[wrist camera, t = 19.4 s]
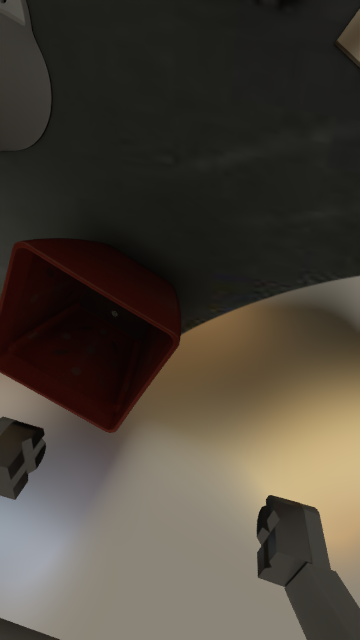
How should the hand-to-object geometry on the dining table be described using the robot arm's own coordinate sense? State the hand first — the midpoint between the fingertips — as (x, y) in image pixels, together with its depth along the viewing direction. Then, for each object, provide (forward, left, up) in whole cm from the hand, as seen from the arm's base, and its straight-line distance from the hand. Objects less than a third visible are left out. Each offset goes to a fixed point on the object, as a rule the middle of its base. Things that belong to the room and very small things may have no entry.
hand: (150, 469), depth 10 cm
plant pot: (-7, -17, -35) cm, 40 cm away
